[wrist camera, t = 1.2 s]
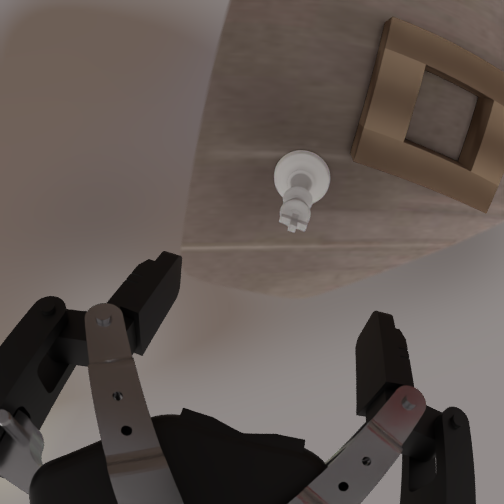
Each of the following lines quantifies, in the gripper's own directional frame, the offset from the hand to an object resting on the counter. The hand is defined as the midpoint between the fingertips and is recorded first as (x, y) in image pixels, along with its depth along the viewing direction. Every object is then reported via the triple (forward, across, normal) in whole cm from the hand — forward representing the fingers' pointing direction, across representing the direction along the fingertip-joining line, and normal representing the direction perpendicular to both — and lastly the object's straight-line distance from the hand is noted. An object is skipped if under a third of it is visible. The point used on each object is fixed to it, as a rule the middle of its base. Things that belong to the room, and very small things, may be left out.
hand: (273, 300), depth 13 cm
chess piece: (+17, 0, 0) cm, 17 cm away
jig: (+17, -10, -9) cm, 22 cm away
